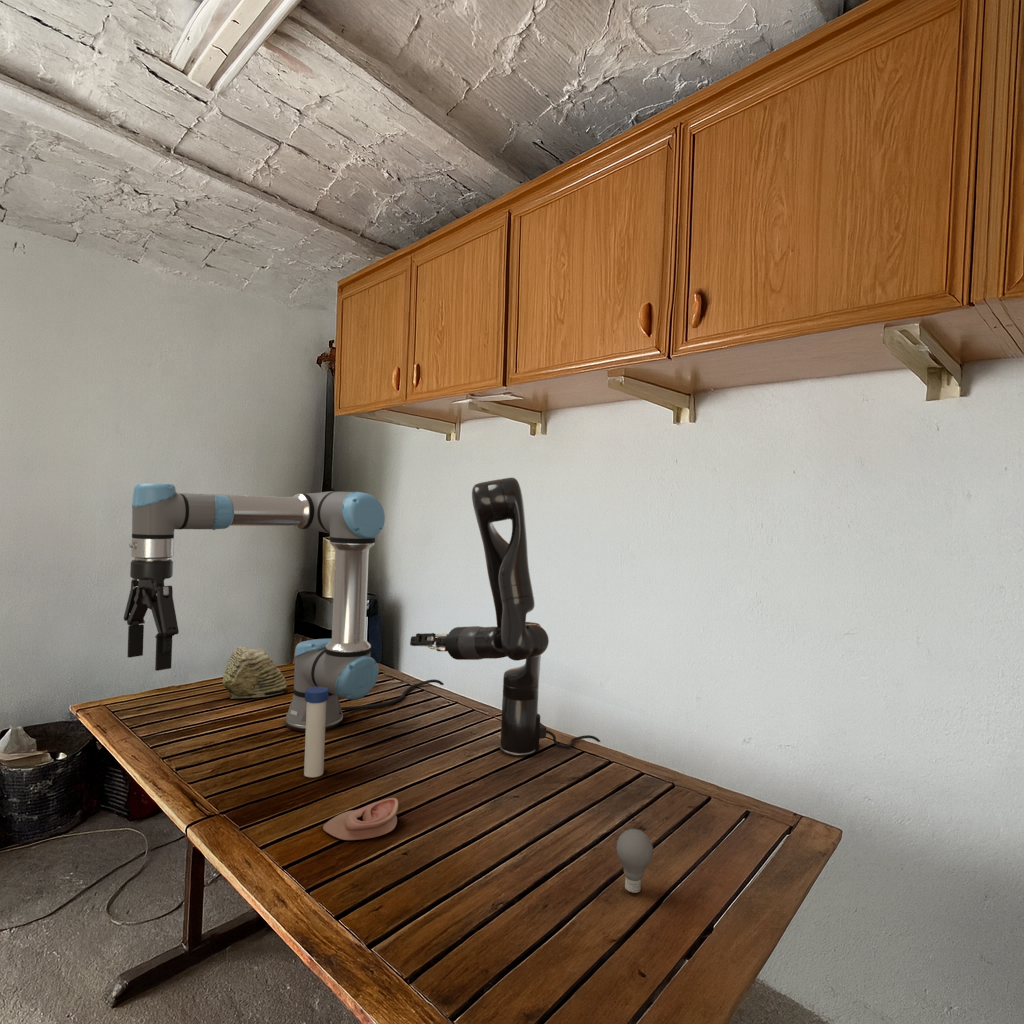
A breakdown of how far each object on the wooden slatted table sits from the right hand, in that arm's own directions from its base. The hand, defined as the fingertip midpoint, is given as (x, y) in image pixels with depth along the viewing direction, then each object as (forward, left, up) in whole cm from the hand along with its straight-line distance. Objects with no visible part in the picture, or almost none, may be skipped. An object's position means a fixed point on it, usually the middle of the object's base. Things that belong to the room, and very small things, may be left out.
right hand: (424, 644), depth 156 cm
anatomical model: (+19, +29, -28) cm, 45 cm away
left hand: (+59, +5, 0) cm, 59 cm away
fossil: (+38, -60, -28) cm, 76 cm away
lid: (+25, +3, -9) cm, 27 cm away
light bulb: (-21, +63, -28) cm, 72 cm away
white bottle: (+25, +3, -28) cm, 38 cm away
